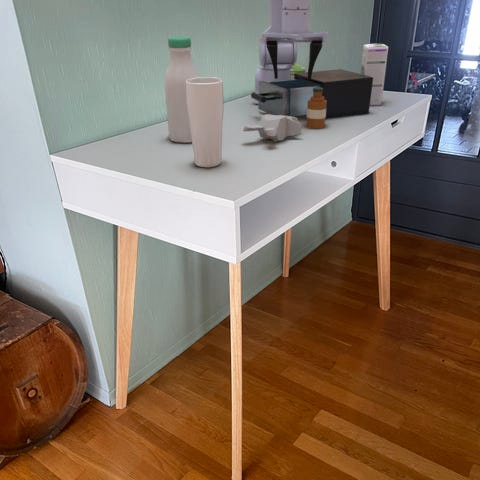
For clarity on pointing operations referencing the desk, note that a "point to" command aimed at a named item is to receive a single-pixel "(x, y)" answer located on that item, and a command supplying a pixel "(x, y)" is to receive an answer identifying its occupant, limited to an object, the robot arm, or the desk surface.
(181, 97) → the milk bottle
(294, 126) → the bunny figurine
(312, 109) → the bottle
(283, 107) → the drawer
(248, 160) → the desk surface
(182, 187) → the desk surface
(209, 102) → the drinking glass
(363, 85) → the cabinet
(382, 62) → the syrup box
